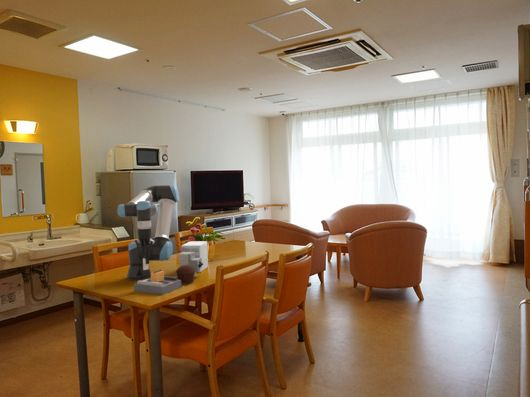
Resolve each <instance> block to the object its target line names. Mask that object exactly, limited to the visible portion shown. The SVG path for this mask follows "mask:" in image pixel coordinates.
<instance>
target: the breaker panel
mask: <svg viewBox="0 0 530 397" xmlns="http://www.w3.org/2000/svg"><path fill="white" fill-rule="evenodd" d="M136 281H137V282H136V283H133V291H134V292H138V293H147V294H155V295H165V294H168V293H170V292H173V291H175V290H177V289H180V288H182V284H181V280H178V278H177V276H168V275H167V276H166V275H164V280H163V281H160V282H151V277H150V278H147V279H143V280H136Z"/></svg>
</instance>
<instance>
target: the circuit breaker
mask: <svg viewBox="0 0 530 397" xmlns="http://www.w3.org/2000/svg"><path fill="white" fill-rule="evenodd" d="M177 259H178V260H177V261H179V267H181V266H183V265H190V266H192V267H193V268H194V269H195V270H196V271H195V273H194V277H196V275H197V274H196V273H200V272H199V271H200V270H202V265H203V263H202V258H195V252H180V253H178V257H177Z"/></svg>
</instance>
